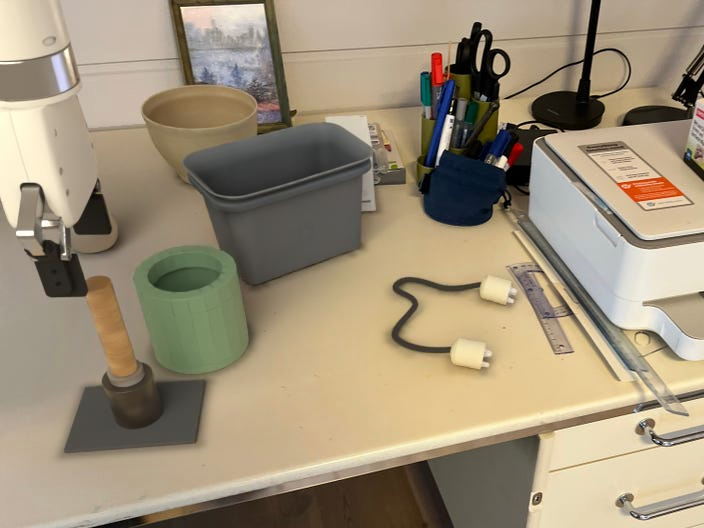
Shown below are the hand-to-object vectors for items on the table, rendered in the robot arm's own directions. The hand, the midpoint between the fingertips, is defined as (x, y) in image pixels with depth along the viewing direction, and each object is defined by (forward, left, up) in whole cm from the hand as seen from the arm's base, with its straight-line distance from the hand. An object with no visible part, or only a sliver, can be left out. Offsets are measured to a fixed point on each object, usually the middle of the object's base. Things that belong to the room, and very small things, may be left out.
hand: (82, 262), depth 67 cm
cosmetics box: (+24, +43, -17) cm, 52 cm away
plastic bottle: (-10, +31, -17) cm, 37 cm away
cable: (+34, +10, -17) cm, 40 cm away
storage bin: (+15, +28, -17) cm, 36 cm away
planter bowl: (+3, +51, -17) cm, 54 cm away
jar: (+6, +9, -17) cm, 20 cm away
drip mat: (+1, -2, -17) cm, 17 cm away
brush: (+1, -2, -17) cm, 17 cm away
